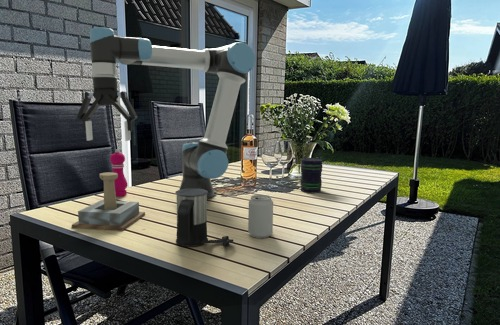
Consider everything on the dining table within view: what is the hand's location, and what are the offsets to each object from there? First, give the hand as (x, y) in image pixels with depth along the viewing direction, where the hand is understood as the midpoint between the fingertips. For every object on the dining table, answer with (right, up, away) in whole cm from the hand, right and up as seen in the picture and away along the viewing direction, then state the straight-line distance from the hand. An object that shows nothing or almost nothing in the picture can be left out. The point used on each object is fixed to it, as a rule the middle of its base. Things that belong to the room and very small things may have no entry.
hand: (108, 140), depth 124 cm
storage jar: (+77, -21, +46) cm, 92 cm away
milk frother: (+35, -31, -21) cm, 52 cm away
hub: (+2, -27, -3) cm, 27 cm away
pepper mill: (-8, -22, +32) cm, 40 cm away
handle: (+2, -26, -3) cm, 27 cm away
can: (+52, -30, -13) cm, 61 cm away
